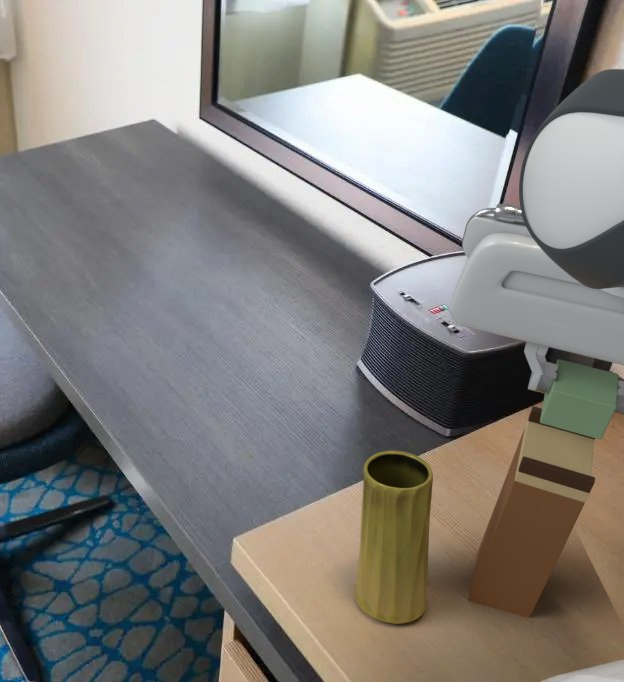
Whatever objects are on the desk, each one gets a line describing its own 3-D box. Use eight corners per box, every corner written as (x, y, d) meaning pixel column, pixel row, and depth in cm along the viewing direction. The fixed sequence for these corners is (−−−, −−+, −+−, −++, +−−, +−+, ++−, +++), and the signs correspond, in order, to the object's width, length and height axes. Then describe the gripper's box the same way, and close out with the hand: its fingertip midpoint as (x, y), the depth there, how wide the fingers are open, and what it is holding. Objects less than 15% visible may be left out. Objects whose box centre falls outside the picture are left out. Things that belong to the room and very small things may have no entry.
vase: (433, 627, 66) (445, 494, 59) (357, 623, 67) (361, 493, 61) (420, 574, 71) (431, 446, 65) (350, 571, 73) (354, 446, 66)
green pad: (601, 440, 55) (616, 407, 54) (539, 423, 57) (552, 390, 55) (604, 406, 58) (619, 373, 56) (545, 390, 60) (557, 358, 58)
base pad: (525, 627, 67) (595, 482, 56) (465, 605, 69) (522, 460, 58) (534, 569, 72) (600, 423, 61) (478, 549, 74) (532, 405, 63)
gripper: (464, 219, 50) (422, 382, 59) (867, 295, 42) (750, 473, 50) (480, 179, 55) (438, 336, 63) (848, 241, 46) (743, 413, 55)
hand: (579, 398), depth 57 cm, fingers closed on green pad, 4 cm apart
